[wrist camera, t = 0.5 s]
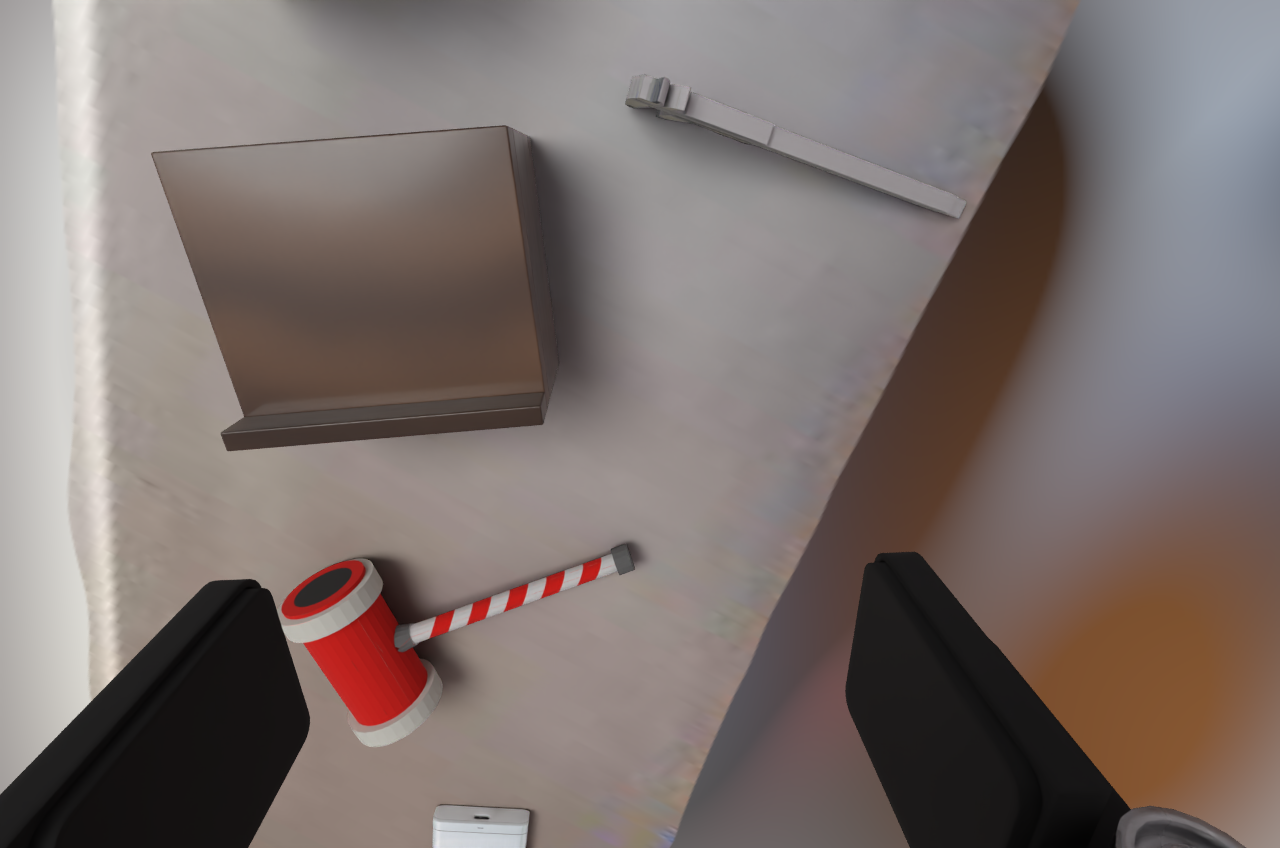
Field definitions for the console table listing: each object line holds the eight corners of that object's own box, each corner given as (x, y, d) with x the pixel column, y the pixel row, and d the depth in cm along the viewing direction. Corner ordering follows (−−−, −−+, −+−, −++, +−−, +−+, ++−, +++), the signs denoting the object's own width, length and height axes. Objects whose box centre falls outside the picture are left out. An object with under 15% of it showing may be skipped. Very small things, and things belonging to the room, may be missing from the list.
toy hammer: (605, 478, 41) (604, 529, 35) (654, 608, 45) (661, 672, 40) (301, 570, 43) (252, 633, 37) (377, 687, 47) (345, 760, 41)
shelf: (253, 157, 32) (112, 150, 23) (530, 136, 33) (499, 121, 23) (320, 383, 37) (226, 452, 28) (559, 364, 38) (543, 425, 28)
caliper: (624, 107, 32) (627, 92, 27) (629, 85, 32) (634, 65, 26) (955, 218, 35) (1022, 227, 30) (963, 200, 35) (1033, 205, 29)
